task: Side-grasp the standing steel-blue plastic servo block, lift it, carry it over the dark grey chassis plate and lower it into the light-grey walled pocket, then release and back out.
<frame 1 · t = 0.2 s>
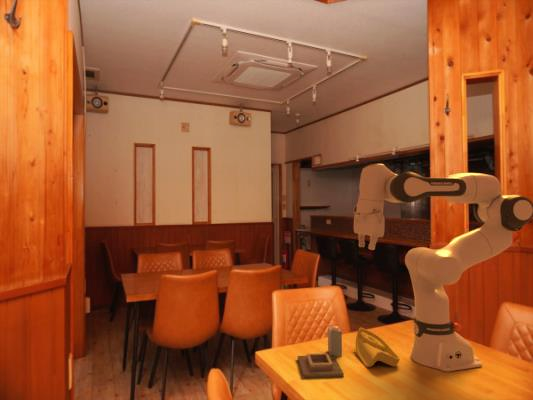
hand: (366, 248, 128), 40 cm above the table, tool pointing down, fingers open, 8 cm apart
chassis: (319, 367, 124), on the table
plastic component: (375, 357, 132), on the table
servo: (334, 353, 135), on the table
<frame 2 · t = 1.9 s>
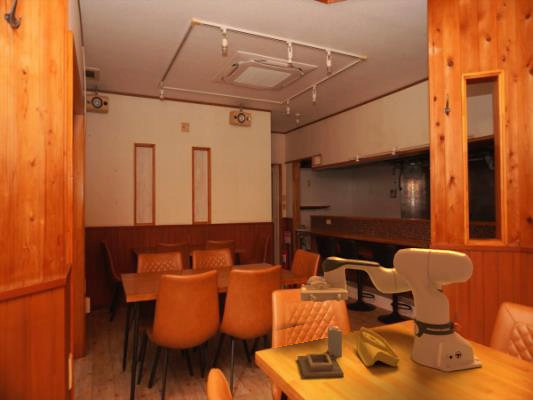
hand: (327, 299, 147), 17 cm above the table, tool horizontal, fingers open, 8 cm apart
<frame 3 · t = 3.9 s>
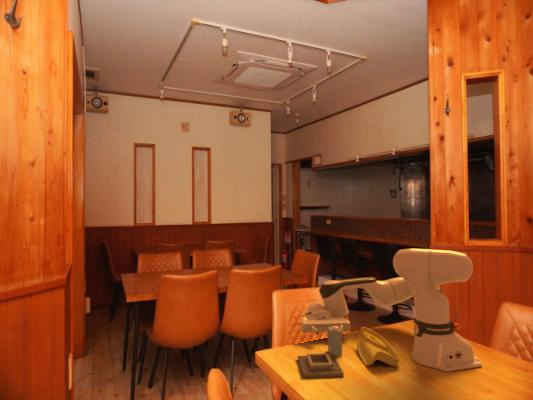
hand: (329, 331, 143), 5 cm above the table, tool horizontal, fingers open, 8 cm apart
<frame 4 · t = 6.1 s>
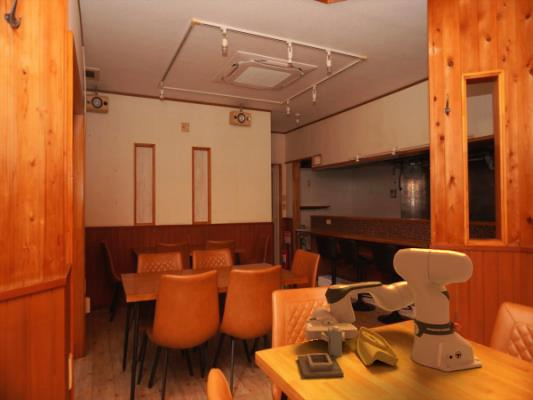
hand: (335, 339, 134), 6 cm above the table, tool horizontal, fingers closed on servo, 4 cm apart
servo: (334, 353, 135), on the table, touching gripper
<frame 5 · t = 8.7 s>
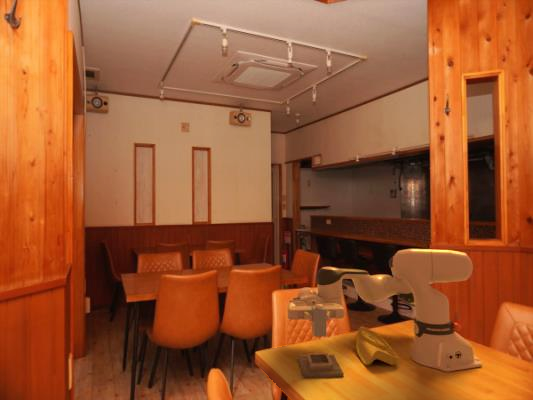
hand: (319, 318, 123), 17 cm above the table, tool horizontal, fingers closed on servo, 4 cm apart
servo: (318, 333, 124), point 11 cm above the table, touching gripper
when the fingers open (8 cm above the table, at t = 11.2 s): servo stays where it is, resting on chassis.
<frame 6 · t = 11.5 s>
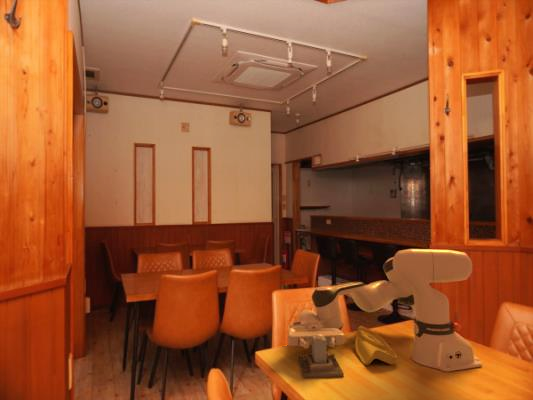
hand: (319, 346, 123), 8 cm above the table, tool horizontal, fingers open, 7 cm apart
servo: (319, 363, 124), point 1 cm above the table, touching chassis
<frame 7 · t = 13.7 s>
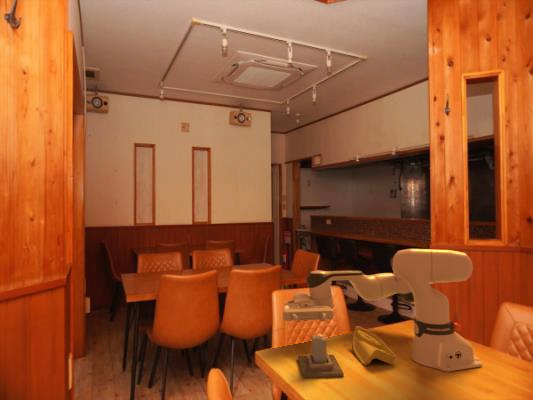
hand: (310, 319, 137), 12 cm above the table, tool horizontal, fingers open, 8 cm apart
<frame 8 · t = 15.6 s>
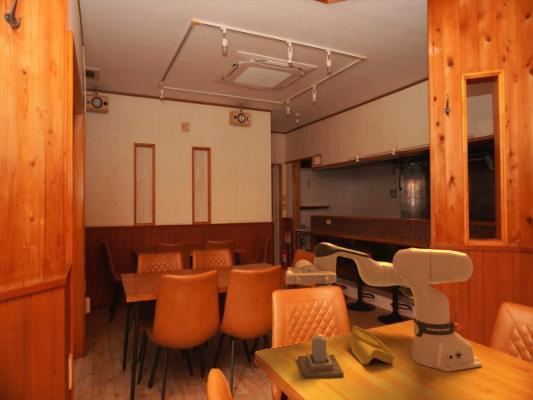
hand: (313, 281, 138), 26 cm above the table, tool horizontal, fingers open, 8 cm apart
at the end: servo 0.1 cm off-centre on the chassis, point 1.2 cm above the chassis's base; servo tilted 0°; the gripper is holding nothing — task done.
